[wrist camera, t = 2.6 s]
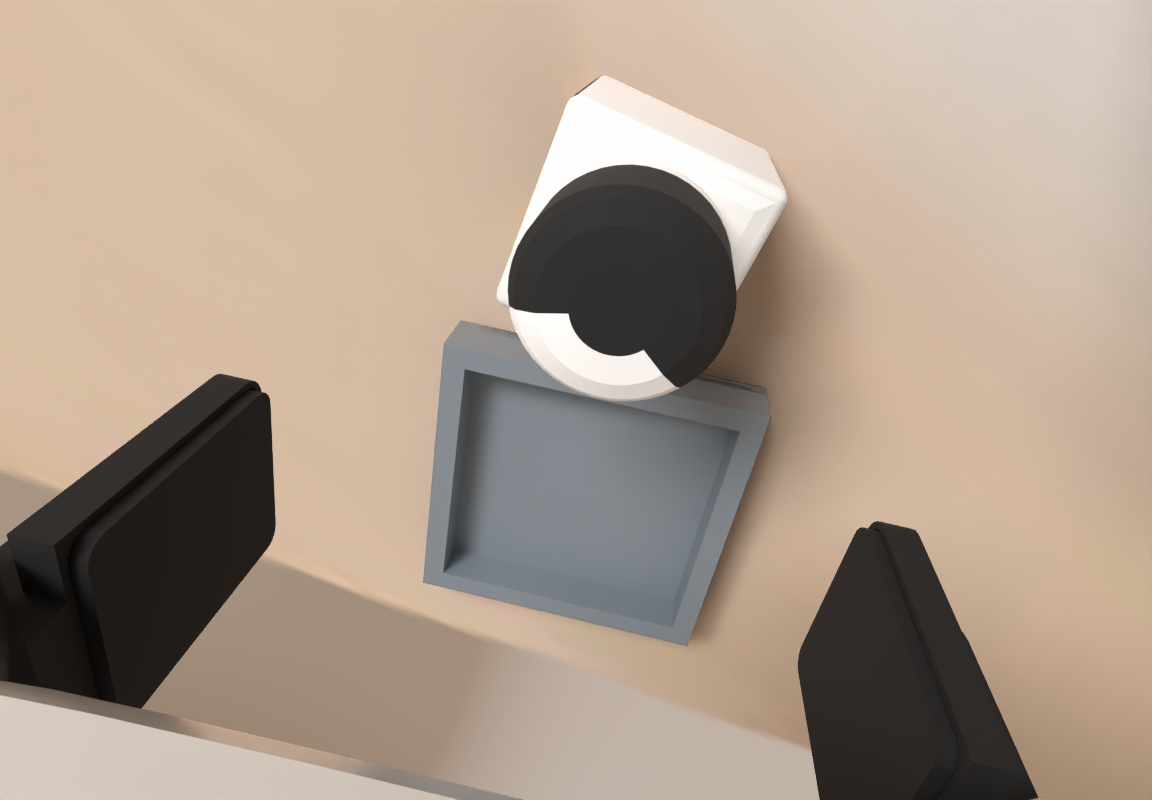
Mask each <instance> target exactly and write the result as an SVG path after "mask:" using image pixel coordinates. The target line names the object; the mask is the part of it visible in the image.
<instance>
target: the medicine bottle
mask: <svg viewBox="0 0 1152 800" xmlns="http://www.w3.org/2000/svg"><path fill="white" fill-rule="evenodd" d="M787 200H788V197H787V193H786V191H785V188H784V186H783V184H782V182H781V180H780V178H779V176H778V173H777V171H776V169H775V167H774V165H773V163H772V161H771V158H770V156H769V154H768V153H767V152H766V151H765V150H764V149H762V148H760V147H758V146H755V145H753V144H751V143H749V142H747V141H745V140H743V139H741V138H738V137H736V136H734V135H732V134H730V133H728V132H726V131H723V130H721V129H719V128H717V127H715V126H713V125H711V124H709V123H706V122H704V121H702V120H700V119H698V118H696V117H694V116H692V115H689V114H687V113H685V112H683V111H681V110H679V109H677V108H674V107H672V106H670V105H668V104H666V103H664V102H662V101H660V100H657V99H655V98H653V97H651V96H649V95H647V94H645V93H643V92H640V91H638V90H636V89H634V88H632V87H630V86H628V85H625V84H623V83H621V82H619V81H617V80H615V79H613V78H611V77H608V76H600V77H598V78H597V79H595V80H594V81H593V82H591V83H590V84H589V85H587V86H586V87H585V88H583V89H582V90H581V91H579V92H578V93H577V94H575V95H574V96H573V97H571V99H570V100H569V101H568V103H567V105H566V108H565V111H564V113H563V116H562V119H561V121H560V124H559V127H558V129H557V132H556V135H555V137H554V140H553V143H552V145H551V148H550V151H549V153H548V156H547V159H546V161H545V164H544V167H543V169H542V172H541V175H540V177H539V180H538V183H537V185H536V188H535V191H534V193H533V196H532V199H531V201H530V204H529V207H528V209H527V212H526V215H525V217H524V220H523V223H522V226H521V228H520V231H519V234H518V236H517V239H516V242H515V244H514V247H513V250H512V252H511V255H510V258H509V260H508V263H507V266H506V268H505V271H504V274H503V276H502V279H501V282H500V284H499V287H498V290H497V299H498V302H499V303H500V304H502V305H503V306H505V307H508V308H509V309H510V313H511V318H512V321H513V324H514V327H515V329H516V332H517V334H518V336H519V338H520V340H521V342H522V344H523V346H524V347H525V349H526V350H527V351H528V353H529V354H530V355H531V357H532V358H533V359H534V360H535V361H536V363H537V364H538V365H539V366H540V367H541V368H542V369H543V370H544V371H546V372H547V373H548V374H549V375H550V376H552V377H553V378H554V379H556V380H557V381H559V382H560V383H562V384H564V385H565V386H567V387H569V388H571V389H573V390H575V391H577V392H579V393H582V394H585V395H588V396H591V397H595V398H599V399H604V400H611V401H639V400H645V399H651V398H655V397H658V396H662V395H665V394H668V393H670V392H672V391H674V390H677V389H679V388H681V387H682V386H684V385H686V384H687V383H689V382H690V381H692V380H693V379H695V378H696V377H697V376H698V375H699V374H701V373H702V372H703V371H704V370H705V369H706V368H707V367H708V366H709V365H710V364H711V363H712V362H713V360H714V359H715V358H716V356H717V355H718V353H719V352H720V350H721V349H722V348H723V346H724V344H725V341H726V339H727V337H728V335H729V333H730V330H731V327H732V324H733V321H734V315H735V309H736V292H737V290H738V289H739V287H740V285H741V283H742V282H743V280H744V278H745V276H746V274H747V273H748V271H749V269H750V267H751V266H752V264H753V262H754V260H755V259H756V257H757V255H758V253H759V252H760V250H761V248H762V246H763V245H764V243H765V241H766V239H767V238H768V236H769V234H770V232H771V231H772V229H773V227H774V225H775V224H776V222H777V220H778V218H779V217H780V215H781V213H782V211H783V210H784V208H785V206H786V204H787Z"/></svg>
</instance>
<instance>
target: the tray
mask: <svg viewBox="0 0 1152 800" xmlns="http://www.w3.org/2000/svg"><path fill="white" fill-rule="evenodd" d="M770 419H771V414H770V408H769V403H768V397H767V391H766V389H765V388H760V387H756V386H751V385H747V384H742V383H738V382H733V381H729V380H724V379H720V378H716V377H711V376H707V375H702V374H699V375H698V376H697V377H696V378H695V379H693V380H692V381H690V382H689V383H687V384H686V385H684V386H682V387H681V388H679V389H677V390H674V391H672V392H670V393H668V394H665V395H662V396H658V397H655V398H651V399H645V400H639V401H611V400H604V399H599V398H595V397H591V396H588V395H585V394H582V393H579V392H577V391H575V390H573V389H571V388H569V387H567V386H565V385H564V384H562V383H560V382H559V381H557V380H556V379H554V378H553V377H552V376H550V375H549V374H548V373H547V372H546V371H544V370H543V369H542V368H541V367H540V366H539V365H538V364H537V363H536V361H535V360H534V359H533V358H532V357H531V355H530V354H529V353H528V351H527V350H526V349H525V347H524V346H523V344H522V342H521V340H520V338H519V336H518V334H517V333H514V332H509V331H505V330H500V329H496V328H491V327H487V326H483V325H478V324H474V323H469V322H465V321H460V323H459V324H458V325H457V327H456V328H455V329H454V331H453V332H452V333H451V335H450V336H449V337H448V339H447V340H446V341H445V343H444V348H443V359H442V371H441V382H440V394H439V405H438V417H437V428H436V440H435V451H434V463H433V474H432V486H431V497H430V509H429V520H428V532H427V543H426V555H425V566H424V578H423V583H427V584H431V585H435V586H440V587H444V588H448V589H452V590H456V591H460V592H465V593H469V594H473V595H477V596H481V597H485V598H490V599H494V600H498V601H502V602H506V603H510V604H515V605H519V606H523V607H527V608H531V609H535V610H540V611H544V612H548V613H552V614H556V615H560V616H564V617H569V618H573V619H577V620H581V621H585V622H589V623H594V624H598V625H602V626H606V627H610V628H614V629H619V630H623V631H627V632H631V633H635V634H639V635H644V636H648V637H652V638H656V639H660V640H664V641H669V642H673V643H677V644H681V645H685V646H687V645H688V642H689V640H690V637H691V634H692V631H693V629H694V626H695V623H696V621H697V618H698V615H699V612H700V610H701V607H702V604H703V601H704V599H705V596H706V593H707V590H708V588H709V585H710V582H711V580H712V577H713V574H714V571H715V569H716V566H717V563H718V560H719V558H720V555H721V552H722V550H723V547H724V544H725V541H726V539H727V536H728V533H729V530H730V528H731V525H732V522H733V520H734V517H735V514H736V511H737V509H738V506H739V503H740V500H741V498H742V495H743V492H744V489H745V487H746V484H747V481H748V479H749V476H750V473H751V470H752V468H753V465H754V462H755V459H756V457H757V454H758V451H759V449H760V446H761V443H762V440H763V438H764V435H765V432H766V429H767V427H768V424H769V421H770Z"/></svg>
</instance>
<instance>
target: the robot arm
mask: <svg viewBox="0 0 1152 800" xmlns="http://www.w3.org/2000/svg"><path fill="white" fill-rule="evenodd" d="M275 525H276V522H275V499H274V476H273V453H272V430H271V407H270V398H269V396H268V395H267V394H266V393H263V392H261V388H260V386H259V384H258V383H257V382H255V381H251V380H247V379H242V378H238V377H233V376H229V375H224V374H217V375H215V376H213V377H212V378H211V379H209V380H208V381H207V382H206V383H204V384H203V385H202V386H200V387H199V388H198V389H196V390H195V391H194V392H192V393H191V394H190V395H188V396H187V397H186V398H185V399H183V400H182V401H181V402H179V403H178V404H177V405H175V406H174V407H173V408H171V409H170V410H169V411H168V412H166V413H165V414H164V415H162V416H161V417H160V418H158V419H157V420H156V421H154V422H153V423H152V424H151V425H149V426H148V427H147V428H145V429H144V430H143V431H141V432H140V433H139V434H137V435H136V436H135V437H134V438H132V439H131V440H130V441H128V442H127V443H126V444H124V445H123V446H122V447H120V448H119V449H118V450H117V451H115V452H114V453H113V454H111V455H110V456H109V457H107V458H106V459H105V460H103V461H102V462H101V463H100V464H98V465H97V466H96V467H94V468H93V469H92V470H90V471H89V472H88V473H86V474H85V475H84V476H82V477H81V478H80V479H79V480H77V481H76V482H75V483H73V484H72V485H71V486H69V487H68V488H67V489H65V490H64V491H63V492H62V493H60V494H59V495H58V496H56V497H55V498H54V499H52V500H51V501H50V502H49V503H47V504H46V505H45V506H43V507H42V508H41V509H40V510H38V511H37V512H35V513H34V514H33V515H31V516H30V517H29V518H28V519H26V520H25V521H24V522H22V523H21V524H20V525H18V526H17V527H16V528H14V529H13V530H12V531H11V532H9V533H8V534H7V538H8V541H7V542H5V543H4V544H3V545H2V546H0V800H521V799H517V798H513V797H509V796H505V795H501V794H497V793H492V792H489V791H485V790H480V789H476V788H472V787H468V786H464V785H460V784H456V783H452V782H447V781H443V780H439V779H435V778H431V777H427V776H422V775H418V774H414V773H410V772H406V771H402V770H398V769H394V768H390V767H386V766H381V765H377V764H373V763H369V762H365V761H360V760H357V759H352V758H348V757H344V756H339V755H336V754H332V753H327V752H323V751H318V750H315V749H310V748H306V747H302V746H297V745H293V744H289V743H285V742H281V741H277V740H272V739H268V738H264V737H260V736H255V735H251V734H247V733H243V732H239V731H234V730H230V729H226V728H221V727H218V726H213V725H209V724H205V723H200V722H196V721H192V720H188V719H184V718H180V717H175V716H171V715H167V714H162V713H157V712H153V711H149V710H144V709H141V708H142V707H143V706H144V705H145V703H146V702H147V701H148V699H149V698H150V697H151V695H152V694H153V693H154V692H155V691H156V689H157V688H158V687H159V685H160V684H161V683H162V682H163V680H164V679H165V678H166V677H167V675H168V674H169V673H170V671H171V670H172V668H174V666H175V665H176V664H177V662H178V661H179V660H180V659H181V657H182V656H183V655H184V654H185V652H186V651H187V650H188V649H189V647H190V646H191V645H192V643H193V642H194V641H195V640H196V638H197V637H198V636H199V634H200V633H201V632H202V631H203V630H204V628H205V627H206V626H207V624H208V623H209V622H210V621H211V619H212V618H213V617H214V616H215V614H216V613H217V612H218V610H219V609H220V608H221V607H222V605H223V604H224V603H225V602H226V600H227V599H228V598H229V596H230V595H231V594H232V593H233V591H234V590H235V589H236V587H237V586H238V585H239V584H240V582H241V581H242V580H243V579H244V577H245V576H246V575H247V574H248V572H249V571H250V570H251V568H252V567H253V566H254V565H255V563H256V562H257V561H258V560H259V558H260V557H261V556H262V555H263V553H264V552H265V551H266V549H267V548H268V547H269V545H270V543H271V541H272V539H273V536H274V532H275ZM798 673H799V679H800V685H801V691H802V697H803V702H804V708H805V714H806V720H807V726H808V732H809V738H810V744H811V750H812V756H813V762H814V768H815V773H816V779H817V786H818V792H819V798H820V800H1051V799H1045V798H1038V796H1037V794H1036V791H1035V789H1034V787H1033V785H1032V783H1031V780H1030V778H1029V776H1028V774H1027V771H1026V769H1025V767H1024V765H1023V762H1022V760H1021V758H1020V756H1019V753H1018V751H1017V749H1016V747H1015V745H1014V742H1013V740H1012V738H1011V736H1010V733H1009V731H1008V729H1007V727H1006V724H1005V722H1004V720H1003V718H1002V715H1001V713H1000V711H999V709H998V707H997V704H996V702H995V700H994V698H993V695H992V693H991V691H990V689H989V686H988V684H987V682H986V680H985V677H984V675H983V673H982V671H981V669H980V666H979V664H978V662H977V660H976V657H975V655H974V653H973V651H972V648H971V646H970V644H969V642H968V640H967V638H966V637H965V635H964V634H963V632H962V631H961V629H960V626H959V624H958V622H957V620H956V617H955V615H954V613H953V611H952V608H951V606H950V604H949V602H948V599H947V597H946V595H945V593H944V590H943V588H942V586H941V584H940V581H939V579H938V577H937V575H936V572H935V570H934V568H933V566H932V563H931V561H930V559H929V557H928V554H927V552H926V550H925V548H924V545H923V543H922V541H921V539H920V536H919V535H918V533H917V532H916V531H915V530H913V529H910V528H906V527H901V526H897V525H892V524H888V523H884V522H879V521H876V522H873V523H872V524H871V525H870V527H869V528H868V529H867V528H863V527H862V528H859V529H858V530H857V531H856V533H855V535H854V537H853V539H852V541H851V543H850V545H849V547H848V549H847V552H846V554H845V556H844V558H843V560H842V562H841V564H840V566H839V568H838V570H837V573H836V575H835V577H834V579H833V581H832V583H831V585H830V587H829V589H828V592H827V594H826V596H825V598H824V600H823V602H822V604H821V606H820V608H819V611H818V613H817V615H816V617H815V619H814V621H813V623H812V625H811V627H810V629H809V632H808V634H807V636H806V638H805V640H804V642H803V644H802V647H801V649H800V653H799V659H798Z"/></svg>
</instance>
